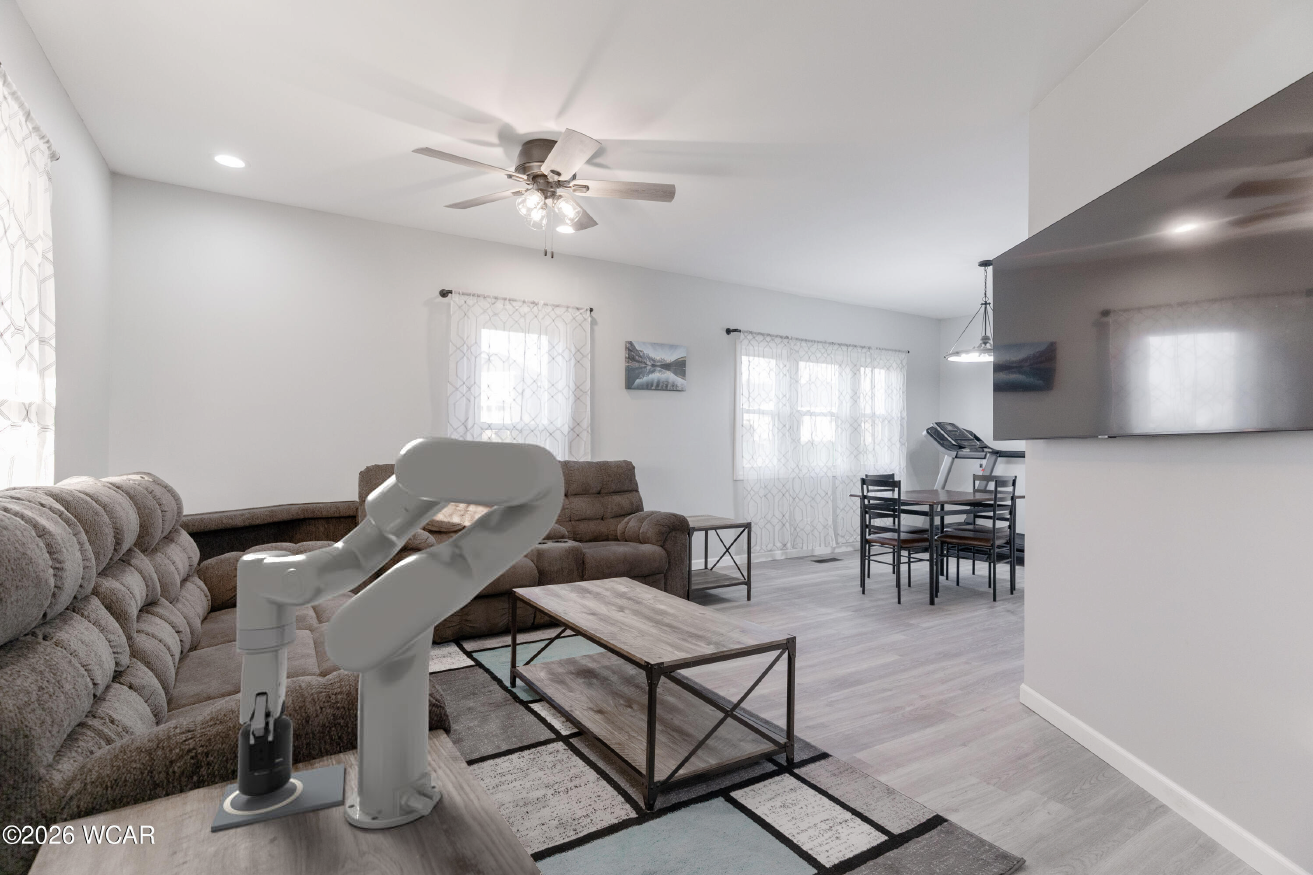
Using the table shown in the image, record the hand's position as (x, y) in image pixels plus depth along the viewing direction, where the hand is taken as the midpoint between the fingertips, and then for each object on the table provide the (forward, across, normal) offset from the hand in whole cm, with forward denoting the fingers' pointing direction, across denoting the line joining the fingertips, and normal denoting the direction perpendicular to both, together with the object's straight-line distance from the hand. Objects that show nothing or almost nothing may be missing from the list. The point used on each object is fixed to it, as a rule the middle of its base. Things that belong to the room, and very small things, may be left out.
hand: (265, 756), depth 94 cm
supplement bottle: (+4, 0, 0) cm, 4 cm away
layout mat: (+6, 0, +2) cm, 7 cm away
